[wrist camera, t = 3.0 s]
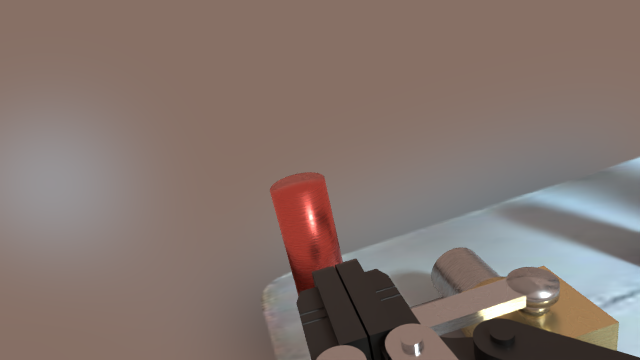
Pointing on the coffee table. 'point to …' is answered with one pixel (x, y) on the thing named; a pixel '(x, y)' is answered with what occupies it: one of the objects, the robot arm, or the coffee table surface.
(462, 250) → the valve body
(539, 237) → the coffee table surface
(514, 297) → the valve lever
